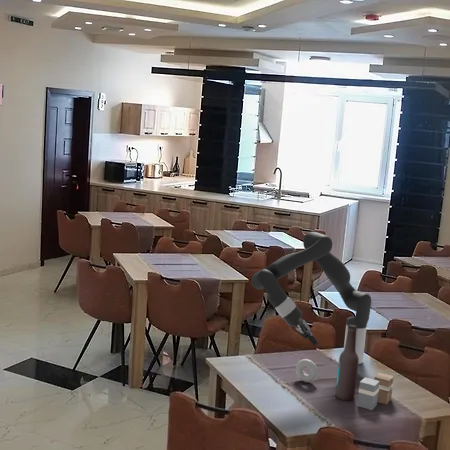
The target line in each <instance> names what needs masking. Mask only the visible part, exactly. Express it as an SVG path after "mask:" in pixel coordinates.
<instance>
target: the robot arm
mask: <svg viewBox="0 0 450 450" xmlns="http://www.w3.org/2000/svg"><path fill="white" fill-rule="evenodd" d="M302 243H303V247H304V249H303V250H300V251H297V252H292V253H288V254H286V255H284V256H281V257H280V258H278V259H276V260H275V261H273V262H272V263H271V264H270V265H268V266H267V267H265V268H263V269H260V270H259V271H258V272H256V273H254V274H253V275H252V277H251V281H250V283H251V286H252V287H253V288H254V289H255V290H263V289H264V291H265V292H266V293H267V295H266V296H267V297H266V298H267V300H268V302H269V303H270V305H272V307H273V308H274V309H275V310H276V312H277V313H278V315H280V317H281V318H282V319H283V321H284V322H285V324H287V325H288V326H292V325H294V326H295V330H296V331H297V332H298V334H299V335H300V336H301V337H303V338H304V339H305V340H308V341H309V342H310V343H311V344H312V346H317V344H319V341H318V339H317V338H316V336H315V335H314V334H313V331H312V330H311V327H310V326H309V324H308V322H307V321H306V320H305V319H303V318H302V317H303V312H302V310H301V309H300V308H299V307H298V306H297V304H296V303H295V302H294V300H292V298H290V296H288V295H287V294H286V292H285V291H284V290H283V289H282V287H281V285H280V283H279V282H278V281H279V279H281V278H283V277H285V276H287V275H288V274H290V273H292V272H293V271H294V270H297V269H298V268H300V267H302V266H305V265H307V264H309V263H310V262H314V261H315V262H316V263H317V265H318V266H319V267H320V269H321V270H322V271H323V273H324V274H325V276H326V277H327V279H328V280H329V282H330V284H332V285H333V287H334V289H336V290H337V292H338V294H339V295H340V297H341V299H342V302H344V304H345V307H347V308H348V309H349V310H352V311H354V312H355V316H349V317H347V319H346V324H345V333H344V344H343V350H344V349H345V345H346V339H347V333H348V325H355V326H357V331H356V346H355V351H356V353H357V355H358V358H359V361H358V365H361V364H363V362H364V352H365V344H366V343H365V342H366V337H367V336H366V334H367V327H368V326H367V325H368V322H369V319H370V316H371V315H370V314H371V310H372V309H371V308H372V297H371V295H370V294H369V293H367V292H363V291H361V290H357V289H355V287H353V285H352V284H351V283H350V282H351V273H350V271H349V270H348V268H347V267H346V265H345V264H344V263H343V261H341V259H339V258H338V257H337V256H336V255H334V254H333V253H332V252H331V251H332V248H333V241H332V239H331V237H329V236H328V235H326V234H323V233H320V232H316V231H310V232H307V233H306V234H305V235H304V237H303V241H302Z"/></svg>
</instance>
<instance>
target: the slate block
mask: <svg viewBox="0 0 450 450" xmlns="http://www.w3.org/2000/svg"><path fill="white" fill-rule="evenodd" d="M379 383H380V381H377V380H374V379H373V378H369V377H364V378H362V380H359V386H358V395H357V396H358V397H357V405H356V406H357V407H360V408H363V409H367V410H369V411H373V410H374V409H375V408H376V407H377V405H378V402H377V400H378V392H379Z"/></svg>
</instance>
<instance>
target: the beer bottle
mask: <svg viewBox="0 0 450 450" xmlns="http://www.w3.org/2000/svg"><path fill="white" fill-rule="evenodd" d="M356 331H357V326H355V325H348V333H347V339H346V345H345V349H344V348H343V351H342V352H341V353H340V355H339V358H338V367H337V376H336V387H335V396H336V398H337V399H339V400H342V401H352V400H354V399H355V396H356V389H357V380H358V379H357V377H358V367H359V364H358V361H359V358H358V355H357V353H356V351H355V346H356Z"/></svg>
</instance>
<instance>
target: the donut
mask: <svg viewBox="0 0 450 450" xmlns="http://www.w3.org/2000/svg"><path fill="white" fill-rule="evenodd" d="M304 368H308V370H309V374H308V373H306V372H305V370H304ZM295 373H296V376H297V378H298V379H299V380H300V381H302V382H304V383H313V382H314V381H316V379H317V377H318V375H319V370H318V367H317V365H316V363H315V362H313V360H310V359H309V358H308V359H307V358H303V359H301V360H298V362H297V364H296V366H295Z"/></svg>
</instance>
